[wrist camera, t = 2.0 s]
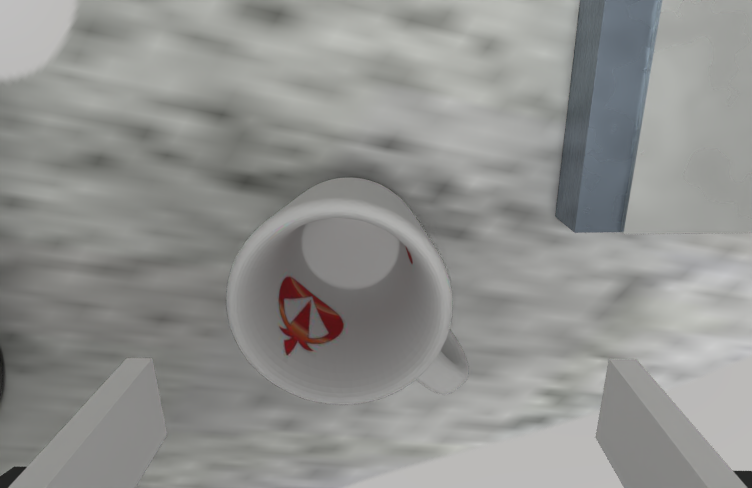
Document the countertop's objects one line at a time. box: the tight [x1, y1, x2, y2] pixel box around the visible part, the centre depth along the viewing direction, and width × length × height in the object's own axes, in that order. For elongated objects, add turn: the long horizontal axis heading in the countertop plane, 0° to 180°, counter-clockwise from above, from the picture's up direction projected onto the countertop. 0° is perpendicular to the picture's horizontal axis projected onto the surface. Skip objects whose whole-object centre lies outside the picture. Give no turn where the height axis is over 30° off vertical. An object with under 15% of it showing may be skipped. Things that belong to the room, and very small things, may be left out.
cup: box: [226, 177, 469, 405], centre depth 21 cm, size 11×8×8 cm
